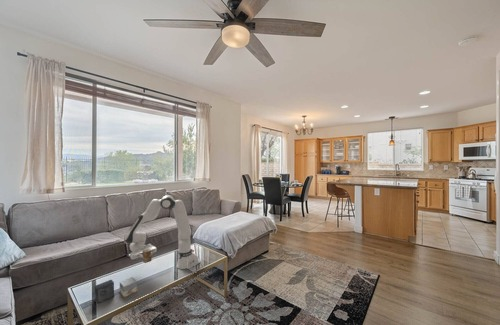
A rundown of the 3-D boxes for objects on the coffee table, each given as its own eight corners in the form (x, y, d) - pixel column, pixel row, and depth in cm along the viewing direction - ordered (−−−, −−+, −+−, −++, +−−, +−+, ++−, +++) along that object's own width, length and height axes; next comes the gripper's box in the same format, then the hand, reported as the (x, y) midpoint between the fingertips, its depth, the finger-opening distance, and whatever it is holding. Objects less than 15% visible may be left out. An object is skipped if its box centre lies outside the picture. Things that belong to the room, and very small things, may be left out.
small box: (111, 292, 156) (111, 278, 156) (114, 296, 152) (114, 282, 152) (94, 299, 148) (94, 285, 148) (97, 303, 144) (97, 289, 144)
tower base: (132, 286, 164) (132, 282, 164) (137, 291, 158) (137, 286, 158) (119, 292, 157) (119, 287, 157) (124, 297, 151) (124, 292, 151)
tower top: (132, 281, 164) (132, 277, 164) (136, 286, 158) (136, 281, 158) (119, 287, 157) (119, 281, 157) (123, 292, 151) (123, 286, 151)
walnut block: (148, 259, 174) (148, 248, 174) (151, 261, 171) (151, 250, 171) (142, 261, 171) (142, 250, 170) (145, 263, 167) (145, 252, 167)
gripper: (127, 250, 171) (134, 255, 162) (152, 243, 187) (159, 247, 178) (127, 258, 171) (133, 263, 162) (152, 250, 187) (159, 255, 178)
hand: (147, 255), depth 170 cm, fingers closed on walnut block, 5 cm apart
